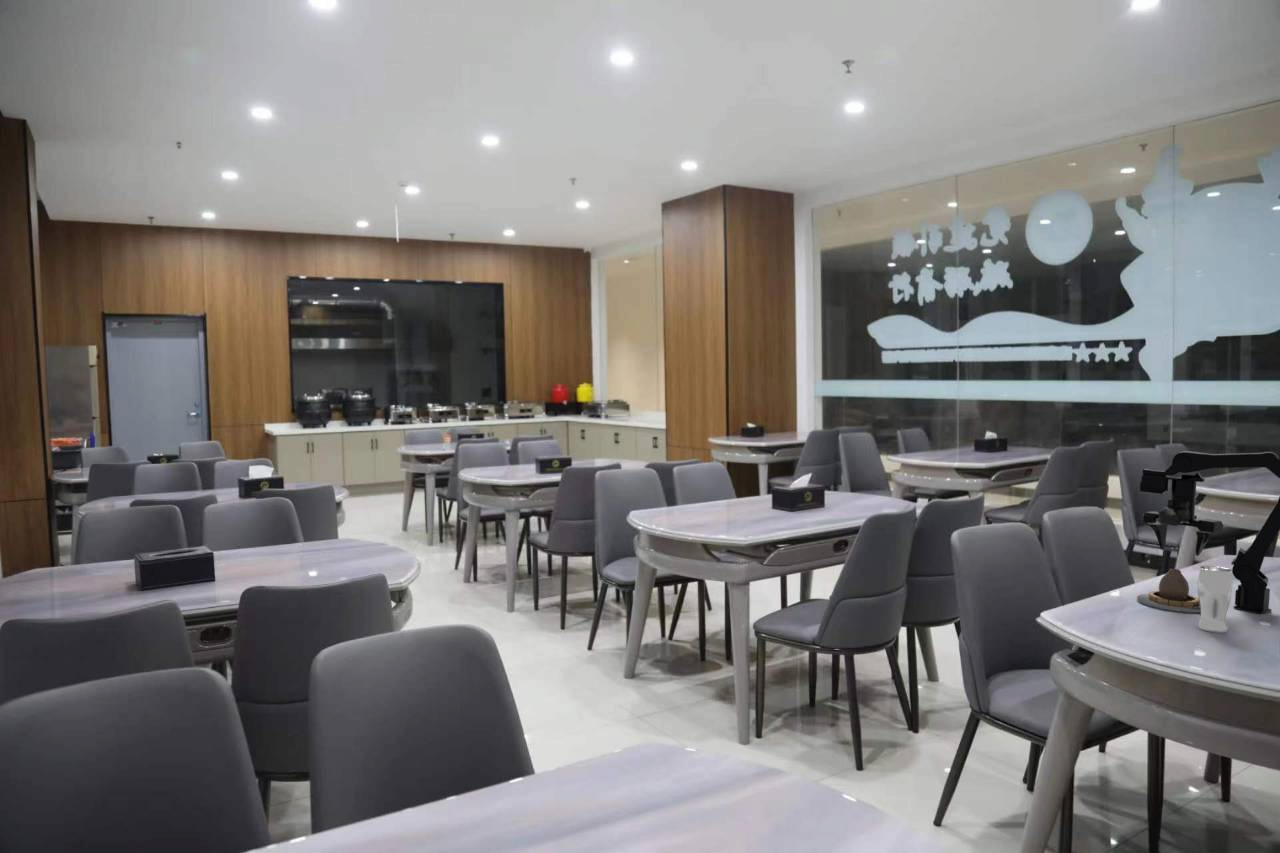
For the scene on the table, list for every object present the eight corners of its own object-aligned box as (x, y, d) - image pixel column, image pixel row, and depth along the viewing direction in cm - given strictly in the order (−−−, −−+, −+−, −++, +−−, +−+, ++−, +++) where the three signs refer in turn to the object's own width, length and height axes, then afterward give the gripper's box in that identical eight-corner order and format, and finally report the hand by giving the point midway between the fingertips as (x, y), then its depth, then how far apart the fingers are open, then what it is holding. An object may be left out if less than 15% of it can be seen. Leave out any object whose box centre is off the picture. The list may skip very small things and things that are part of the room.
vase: (1158, 602, 230) (1160, 570, 229) (1157, 596, 236) (1159, 565, 235) (1189, 606, 226) (1191, 573, 226) (1187, 600, 232) (1189, 568, 232)
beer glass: (1219, 626, 211) (1223, 566, 210) (1235, 634, 204) (1239, 572, 203) (1189, 624, 212) (1193, 564, 211) (1205, 632, 205) (1209, 571, 204)
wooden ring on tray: (1223, 608, 228) (1224, 599, 228) (1190, 616, 219) (1191, 607, 219) (1157, 593, 243) (1158, 585, 242) (1124, 600, 234) (1124, 592, 234)
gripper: (1132, 493, 240) (1129, 548, 241) (1205, 503, 224) (1201, 561, 225) (1154, 491, 246) (1151, 545, 246) (1226, 500, 230) (1222, 558, 231)
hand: (1179, 552), depth 237 cm, fingers open, 9 cm apart
